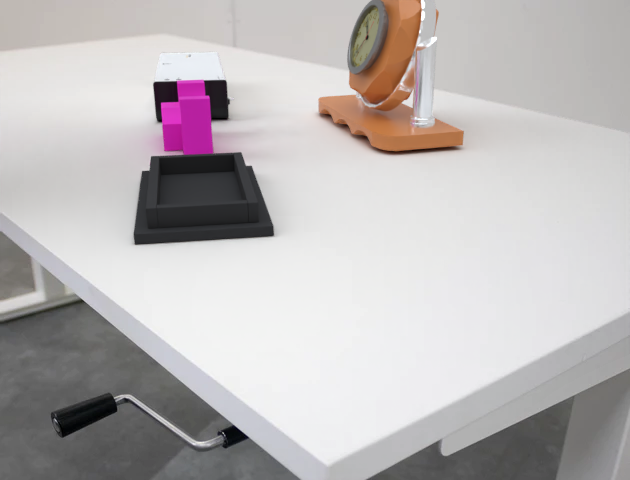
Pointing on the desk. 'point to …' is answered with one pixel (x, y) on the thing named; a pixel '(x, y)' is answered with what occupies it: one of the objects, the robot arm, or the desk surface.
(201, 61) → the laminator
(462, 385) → the desk surface
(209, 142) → the toy block
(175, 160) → the socket pad
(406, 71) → the desk clock
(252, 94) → the desk surface
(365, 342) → the desk surface
